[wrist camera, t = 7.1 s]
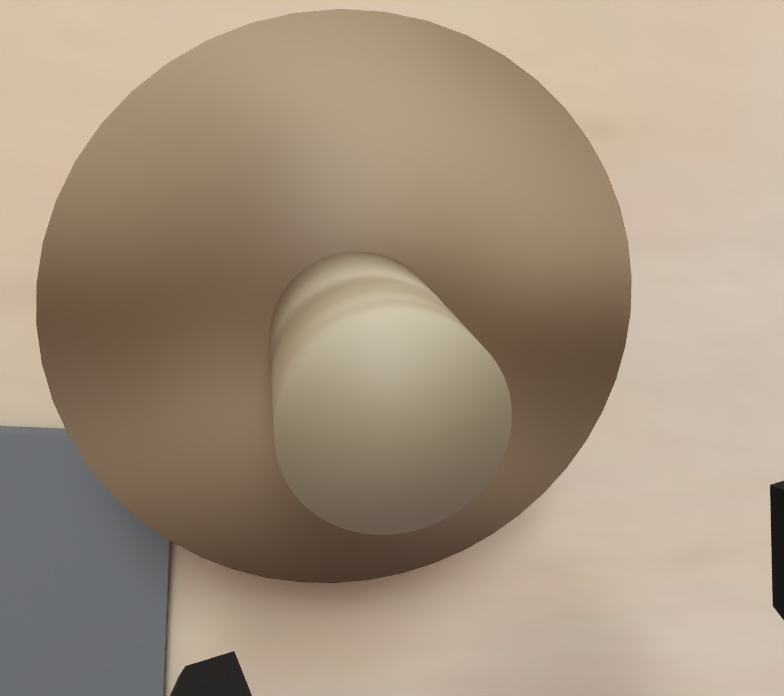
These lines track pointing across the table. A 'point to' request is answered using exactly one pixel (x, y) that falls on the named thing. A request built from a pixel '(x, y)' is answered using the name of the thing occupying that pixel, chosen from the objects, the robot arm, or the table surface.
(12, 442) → the mat
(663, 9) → the table surface
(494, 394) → the lid
